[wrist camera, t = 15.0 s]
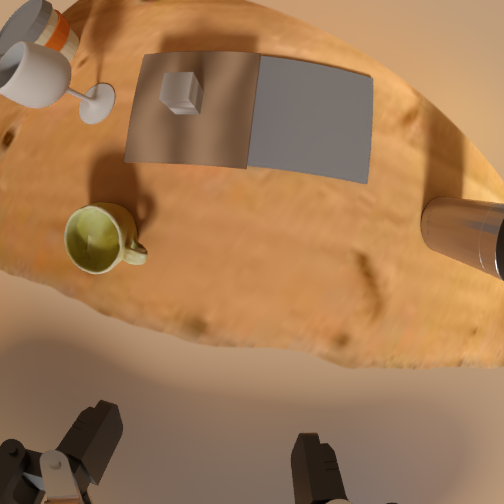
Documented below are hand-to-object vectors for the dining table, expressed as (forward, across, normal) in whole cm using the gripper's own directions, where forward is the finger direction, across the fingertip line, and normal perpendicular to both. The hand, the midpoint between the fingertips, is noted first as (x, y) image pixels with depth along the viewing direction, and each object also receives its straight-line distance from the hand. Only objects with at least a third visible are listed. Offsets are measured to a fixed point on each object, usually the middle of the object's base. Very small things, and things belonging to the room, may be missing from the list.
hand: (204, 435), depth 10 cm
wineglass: (+30, +26, -23) cm, 46 cm away
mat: (+30, -8, -22) cm, 38 cm away
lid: (+24, +8, -20) cm, 32 cm away
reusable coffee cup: (+30, +39, -36) cm, 61 cm away
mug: (+30, +18, -2) cm, 35 cm away
